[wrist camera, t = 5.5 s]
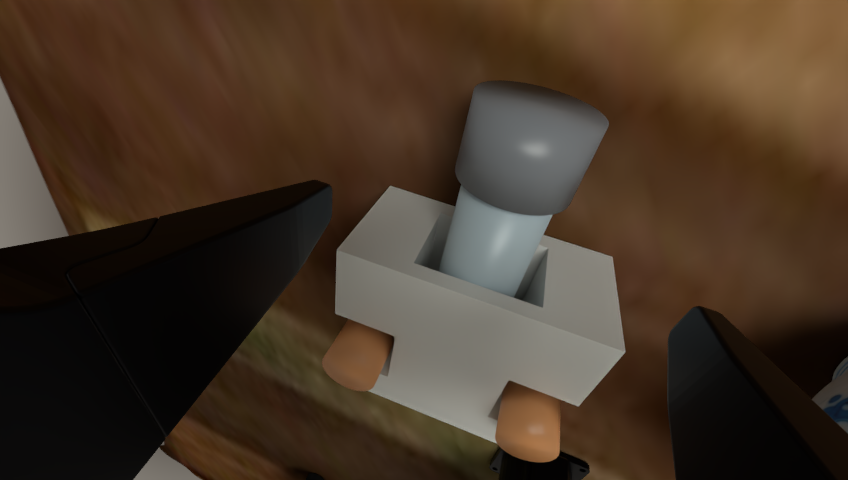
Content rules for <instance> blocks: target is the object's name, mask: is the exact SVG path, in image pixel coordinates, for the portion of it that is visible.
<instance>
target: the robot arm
mask: <svg viewBox="0 0 848 480" xmlns="http://www.w3.org/2000/svg"><path fill="white" fill-rule="evenodd" d="M331 216H332V188H331V186H330V185H329V184H327V183H324V182H321V181H318V180H311V181H307V182H303V183H298V184H294V185H290V186H286V187H282V188H277V189H273V190H269V191H265V192H261V193H256V194H252V195H248V196H244V197H239V198H235V199H231V200H227V201H223V202H218V203H214V204H210V205H206V206H202V207H197V208H193V209H189V210H185V211H181V212H176V213H172V214H168V215H164V216H160V217H159V219H158V218H151V219H147V220H142V221H138V222H134V223H130V224H125V225H121V226H116V227H112V228H107V229H102V230H97V231H92V232H87V233H82V234H77V235H72V236H67V237H61V238H56V239H50V240H45V241H39V242H34V243H29V244H23V245H17V246H12V247H7V248H1V249H0V480H133V479H134V478H135V476H136V475H137V474H138V473H139V472H140V470H141V469H142V468H143V466H144V465H145V464H146V463H147V462H148V460H149V459H150V458H151V457H152V455H153V454H154V453H155V451H156V450H157V449H158V448H159V447H160V445H161V444H162V443H163V442H164V440H165V437H167V436H168V435H169V434H170V432H171V431H172V430H173V429H174V427H175V426H176V425H177V424H178V422H179V421H180V420H181V419H182V417H183V416H184V415H185V414H186V412H187V411H188V410H189V408H190V407H191V406H192V405H193V403H194V402H195V401H196V400H197V398H198V397H199V396H200V395H201V393H202V392H203V391H204V390H205V388H206V387H207V386H208V385H209V383H210V382H211V381H212V380H213V378H214V377H215V376H216V375H217V373H218V372H219V371H220V370H221V368H222V367H223V366H224V365H225V363H226V362H227V361H228V360H229V358H230V357H231V356H232V355H233V353H234V352H235V351H236V350H237V348H238V347H239V346H240V345H241V343H242V342H243V341H244V339H245V338H246V337H247V336H248V334H249V333H250V332H251V331H252V329H253V328H254V327H255V326H256V324H257V323H258V322H259V321H260V319H261V318H262V317H263V316H264V314H265V313H266V312H267V311H268V309H269V308H270V307H271V306H272V304H273V303H274V302H275V301H276V299H277V298H278V297H279V296H280V294H281V293H282V292H283V291H284V289H285V288H286V287H287V286H288V284H289V283H290V282H291V281H292V279H293V278H294V277H295V275H296V274H297V273H298V271H299V270H300V269H301V267H302V266H303V264H304V263H305V261H306V259H307V258H308V256H309V255H310V253H311V251H312V250H313V248H314V246H315V245H316V243H317V242H318V240H319V238H320V237H321V235H322V234H323V232H324V230H325V229H326V227H327V225H328V224H329V222H330V220H331ZM667 399H668V415H669V425H670V433H671V442H672V451H673V460H674V469H675V478H676V480H848V433H847V432H846V431H845V430H844V429H843V428H842V427H840V426H839V425H838V424H837V423H836V422H835V421H834V420H833V419H832V418H831V417H830V416H829V415H828V414H827V413H826V412H825V411H824V410H822V409H821V408H820V407H819V406H818V405H817V404H816V403H815V402H814V401H813V400H812V399H811V398H810V397H809V396H808V395H807V394H806V393H804V392H803V391H802V390H801V389H800V388H799V387H798V386H797V385H796V384H795V383H794V382H793V381H792V380H791V379H790V378H789V377H788V376H786V375H785V374H784V373H783V372H782V371H781V370H780V369H779V368H778V367H777V366H776V365H775V364H774V363H773V362H772V361H771V360H770V359H768V358H767V357H766V356H765V355H764V354H763V353H762V352H761V351H760V350H759V349H758V348H757V347H756V346H755V345H754V344H753V343H752V342H750V341H749V340H748V339H747V338H746V337H745V336H744V335H743V334H742V333H741V332H740V331H739V330H738V329H737V328H736V327H735V326H734V325H732V324H731V323H730V322H729V321H728V320H727V319H726V318H725V317H724V316H723V315H722V314H721V313H719V312H717V311H714V310H711V309H707V308H704V307H701V306H696V307H694V308H692V309H691V310H690V311H689V312H688V313H687V314H686V315H685V316H684V317H683V318H682V319H681V320H680V321H679V322H678V323H677V324H676V325H675V327H674V328H673V329H672V330H671V332H670V334H669V338H668V384H667ZM489 468H490V469H491V470H492V471H494V472H497V473H499V480H581V479H583V478H584V477H585V476H586V475H587V474H588V473H589V472H590V470H589V465H588V464H587V463H585V462H582V461H580V460H577V459H575V458H572V457H570V456H567V455H565V454H562V453H560V452H559V456H558V457H557V458H556V459H554V460H552V461H549V462H530V461H526V460H522V459H519V458H517V457H514V456H512V455H510V454H508V453H507V452H505V451H504V450H503V449H502V448H500V449H499V450H498V452H497V453H496V455H495V456H494V458H493V459H492V460H491V462H490V467H489Z"/></svg>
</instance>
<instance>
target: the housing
mask: <svg viewBox="0 0 848 480" xmlns="http://www.w3.org/2000/svg"><path fill="white" fill-rule="evenodd" d="M454 210H455V206H452V205H449V204H446V203H443V202H440V201H436V200H433V199H430V198H427V197H424V196H421V195H418V194H415V193H411V192H408V191H405V190H402V189H399V188H396V187H393V186H389V188H388V189H387V190H386V191H385V192H384V194H383V195H382V196H381V197H380V198H379V200H378V201H377V202H376V203H375V204H374V206H373V207H372V208H371V209H370V210H369V212H368V213H367V214H366V215H365V216H364V218H363V219H362V220H361V221H360V222H359V224H358V225H357V226H356V227H355V228H354V230H353V231H352V232H351V233H350V234H349V235H348V237H347V238H346V239H345V240H344V241H343V243H342V244H341V245H340V246H339V247H338V249H337V254H336V297H335V314H337V315H340V316H343V317H345V318H348V319H350V320H353V321H356V322H358V323H361V324H364V325H366V326H369V327H371V328H374V329H377V330H379V331H382V332H385V333H387V334H390V335H392V336H393V337H394V345H393V347H392V349H391V351H390V354H389V356H388V358H387V360H386V362H385V364H384V366H383V368H382V370H381V372H380V375H379V377H378V379H377V381H376V383H375V385H374V387H373V388H372V389H371V390H368V391H369V392H372V393H374V394H377V395H379V396H382V397H384V398H387V399H389V400H391V401H394V402H396V403H399V404H401V405H404V406H406V407H409V408H411V409H414V410H416V411H418V412H421V413H423V414H426V415H428V416H431V417H433V418H436V419H438V420H440V421H443V422H445V423H448V424H450V425H453V426H455V427H458V428H460V429H462V430H465V431H467V432H470V433H472V434H475V435H477V436H480V437H482V438H484V439H487V440H489V441H492V442H494V443H497V442H496V440H495V434H496V428H497V422H498V416H499V410H500V404H501V398H502V392H503V389H504V387H505V386H506V384H507V382H508V381H509V380H510V381H513V382H516V383H518V384H521V385H523V386H526V387H529V388H531V389H534V390H537V391H539V392H542V393H544V394H547V395H550V396H552V397H555V398H557V399H560V400H563V401H565V402H568V403H571V404H573V405H576V406H579V405H580V404H581V403H582V402H583V401H584V399H585V398H586V397H587V396H588V395H589V394H590V392H591V391H592V390H593V389H594V388H595V387H596V386H597V384H598V383H599V382H600V381H601V380H602V379H603V377H604V376H605V375H606V374H607V373H608V372H609V371H610V369H611V368H612V367H613V366H614V365H615V364H616V362H617V361H618V360H619V359H620V358H621V357H622V356H623V354H624V353H625V345H624V338H623V330H622V323H621V316H620V308H619V301H618V294H617V286H616V279H615V272H614V264H613V257H611V256H608V255H605V254H602V253H599V252H596V251H593V250H589V249H586V248H583V247H580V246H577V245H574V244H571V243H568V242H564V241H561V240H558V239H555V238H552V237H549V236H546V235H543V236H542V238H541V241H540V243H539V245H538V247H537V249H536V251H535V253H534V255H533V258H532V260H531V262H530V264H529V266H528V268H527V270H526V273H525V275H524V277H523V279H522V281H521V283H520V285H519V287H518V290H517V292H516V294H515V296H514V298H513V297H510V296H507V295H504V294H502V293H499V292H496V291H493V290H490V289H487V288H484V287H481V286H479V285H476V284H473V283H470V282H467V281H464V280H461V279H459V278H456V277H453V276H450V275H447V274H444V273H441V272H438V271H439V267H440V263H441V259H442V255H443V252H444V248H445V244H446V240H447V236H448V233H449V229H450V225H451V221H452V217H453V214H454Z"/></svg>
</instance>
